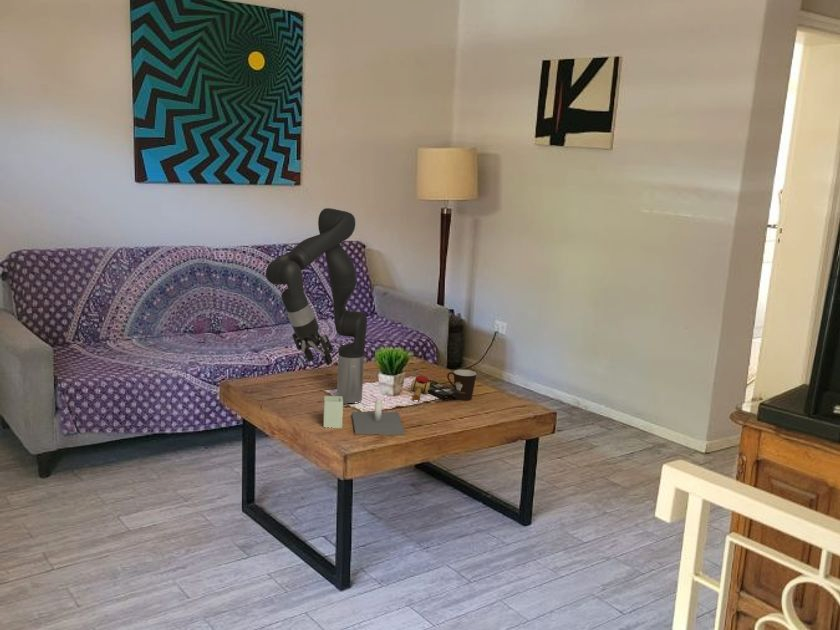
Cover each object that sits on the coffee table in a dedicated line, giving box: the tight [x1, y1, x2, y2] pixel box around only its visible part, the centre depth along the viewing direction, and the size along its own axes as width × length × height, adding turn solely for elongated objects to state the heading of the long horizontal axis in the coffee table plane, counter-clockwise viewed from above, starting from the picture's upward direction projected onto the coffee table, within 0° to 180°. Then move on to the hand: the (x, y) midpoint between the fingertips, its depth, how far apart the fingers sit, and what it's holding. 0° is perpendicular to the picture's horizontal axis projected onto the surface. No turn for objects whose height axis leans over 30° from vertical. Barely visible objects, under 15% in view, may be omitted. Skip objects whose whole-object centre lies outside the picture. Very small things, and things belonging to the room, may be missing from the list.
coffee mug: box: [446, 369, 477, 402], centre depth 304 cm, size 12×9×10 cm
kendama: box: [410, 375, 431, 402], centre depth 304 cm, size 8×6×18 cm
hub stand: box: [351, 398, 405, 436], centre depth 268 cm, size 18×16×9 cm
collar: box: [322, 395, 344, 429], centre depth 265 cm, size 6×6×9 cm
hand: (320, 362), depth 253 cm, fingers open, 8 cm apart
